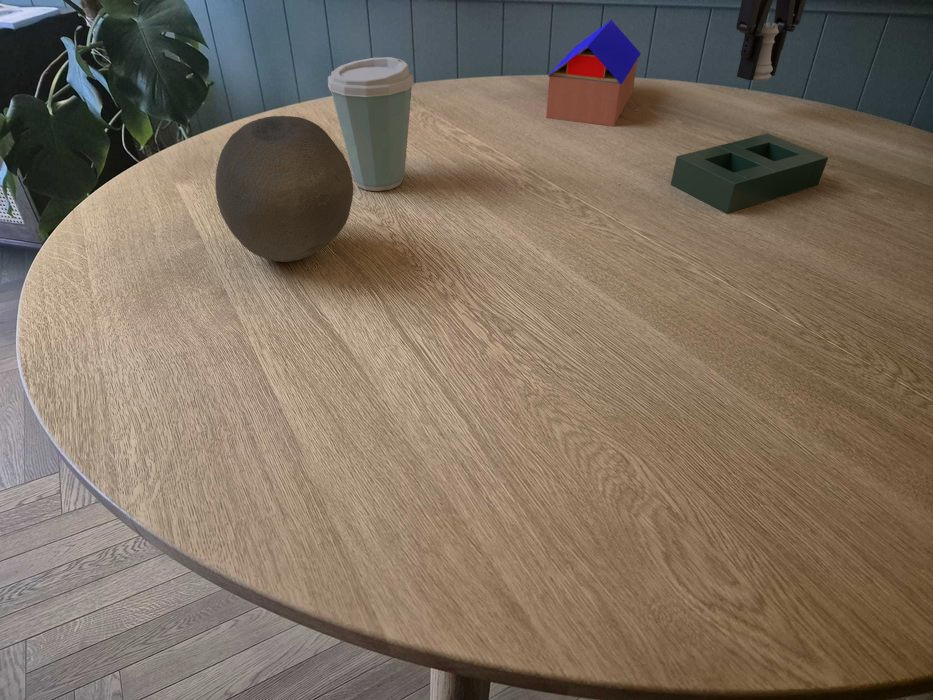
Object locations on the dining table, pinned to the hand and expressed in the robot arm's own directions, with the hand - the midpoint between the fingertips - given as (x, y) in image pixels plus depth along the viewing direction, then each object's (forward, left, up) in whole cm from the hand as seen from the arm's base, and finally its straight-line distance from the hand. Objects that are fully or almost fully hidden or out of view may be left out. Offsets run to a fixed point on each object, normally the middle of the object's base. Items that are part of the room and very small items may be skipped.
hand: (755, 75), depth 107 cm
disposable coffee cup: (+5, +65, -7) cm, 66 cm away
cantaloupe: (-9, +81, -7) cm, 82 cm away
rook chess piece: (0, 0, 0) cm, 1 cm away
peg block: (-20, +22, -7) cm, 30 cm away
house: (+17, +19, -7) cm, 27 cm away
